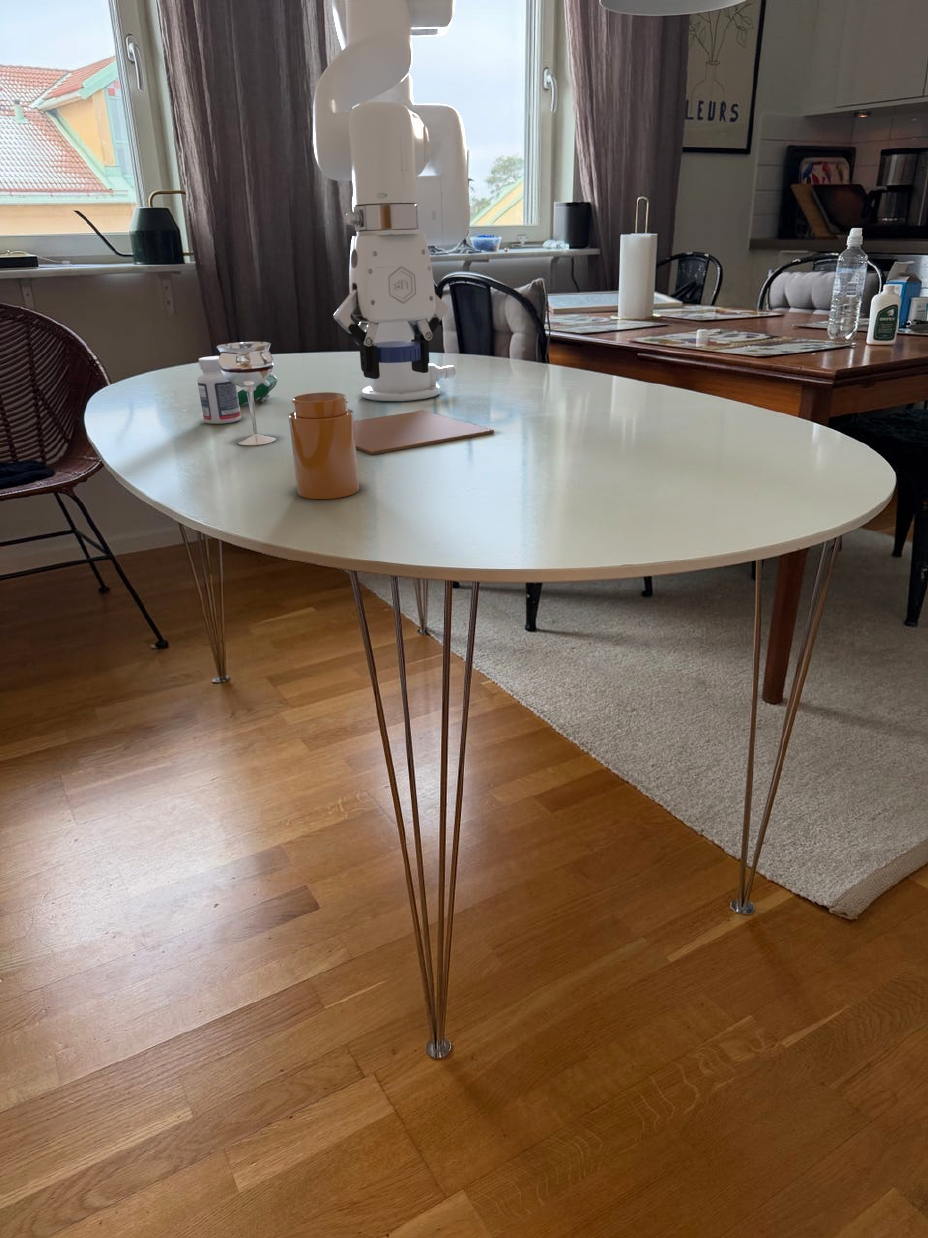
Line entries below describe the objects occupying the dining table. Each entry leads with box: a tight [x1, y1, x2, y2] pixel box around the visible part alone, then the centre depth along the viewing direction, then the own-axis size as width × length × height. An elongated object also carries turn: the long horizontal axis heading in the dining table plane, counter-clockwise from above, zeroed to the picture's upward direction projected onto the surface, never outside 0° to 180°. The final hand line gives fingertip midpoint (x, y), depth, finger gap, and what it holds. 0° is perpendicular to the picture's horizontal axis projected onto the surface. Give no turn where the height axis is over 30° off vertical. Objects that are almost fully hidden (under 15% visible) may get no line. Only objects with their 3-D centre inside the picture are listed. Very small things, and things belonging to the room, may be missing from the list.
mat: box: [354, 409, 495, 455], centre depth 114 cm, size 18×18×1 cm
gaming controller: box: [237, 372, 278, 407], centre depth 138 cm, size 9×4×6 cm
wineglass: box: [216, 341, 277, 446], centre depth 109 cm, size 7×7×12 cm
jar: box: [288, 391, 361, 500], centre depth 87 cm, size 6×6×10 cm
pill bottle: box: [196, 355, 242, 425], centre depth 122 cm, size 5×5×9 cm
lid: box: [374, 341, 421, 363], centre depth 109 cm, size 7×7×2 cm
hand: (396, 373), depth 110 cm, fingers closed on lid, 6 cm apart
